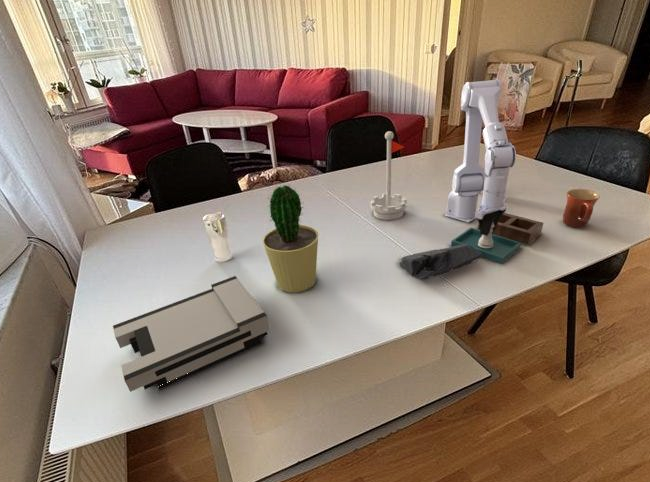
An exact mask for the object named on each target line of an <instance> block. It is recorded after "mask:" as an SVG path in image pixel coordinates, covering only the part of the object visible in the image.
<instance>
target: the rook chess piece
mask: <svg viewBox="0 0 650 482" xmlns="http://www.w3.org/2000/svg"><path fill="white" fill-rule="evenodd" d="M492 228H494V223H492V226H491V229H490V232H489V234H488V235H487V236H486V235H482V237H481V238H480V239H479V241H478V242H479V243H478V246H479V247H480V248H483V249H490V248H492V247H493V243H494V242H493V239H492V231H493V229H492Z"/></svg>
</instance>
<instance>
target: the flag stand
mask: <svg viewBox="0 0 650 482" xmlns="http://www.w3.org/2000/svg"><path fill="white" fill-rule="evenodd" d="M394 136H395V135H394V132H393V131H391V130H390V131H389V130H388V131H386V132H385V134H384V138H385V140H386V192H384V193H382V195H381V196H379V195H377V194H376V195H374V196H373V197H372V199H371V200H370V208H371V209H372V211H373V216H374V217H375V218H377V219H379V220H385V221H389V220H390V221H391V220H397V219H399V218H401V217H402V216H403V215H404V210H405V209H406V208H407V204H408V203H407V202H408V201H407V200H408V199H407V197H405V196H404V197H403V196H402V194H400V193H394V195H392V154H393V153H395V152H397V151H399V150H401V149H404V148H405V146H403V145H401V144H399V143H398V142H396V141H394V140H393V139H394Z"/></svg>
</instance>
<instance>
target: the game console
mask: <svg viewBox="0 0 650 482" xmlns="http://www.w3.org/2000/svg"><path fill="white" fill-rule="evenodd" d="M112 329H113V333H114V338H115V340H116V342H117V345H118V346H119V348H120V349H122V348H124V347H127V346H129V345H130V346H131V348H132V350H133V353H134V354H138V353H139V354H140V357H138V358H136V359H135V358H134V359H132V360H130V361H128V362H125V363H123V364H121V365H120V366H121V371H122V376H123V380H124V383H125V385H126V386H127V388H128V391H129V392H130V393H131V392H133V391H136V390H138V389H140V388H143V389H144V390H147V389H150V388H152V387H154V386H157V388H158V389H157V390H158V391H161V390H163V389H165V388H167V387H169V386H171V385H173V384H176V383H177V382H180V381H182V380H184V379H187V378H189V377H191V376H194V375H196V374H197V373H200V372H202V371H204V370H207V369H209V368H211V367H214V366H217V365H218V364H220V363H223V362H224V361H227V360H229V359H231V358H233V357H236V356H237V355H238V356H239V355H240V354H242V353H244V352H245V353H246V351H249V350H252V349H254V348H255V347H257V346H260V345H262V344H263V341H262V339H263V338H265V337H267V336H269V333H268V332H269V331H271V330H270V325H269V320H268V316H267V314H266V313H265V312H264V310H263V309H262V308H261V306H260V305H259V304H258V303H257V301H256V300H255V299H254V298H253V296H252V295H251V294H250V292H249V291H248V290H247V289H246V288H245V286H244V284H243V283H242V282H241V281H240V279H238V277H237V276H236V275H234V276H231V277H228V278H226V279H223V280H220V281H218V282H215V283H212V284H211V288H209V289H207V290H205V291H202V292H199V293H196V294H194V295H192V296H188V297H185V298H183V299H180V300H178V301H175V302H172V303H170V304H167V305H164V306H162V307H159V308H156V309H154V310H151V311H148V312H146V313H142V314H140V315H138V316H135V317H132V318H129V319H127V320H124V321H121V322H119V323H116V324H114V325H112ZM187 373H188V374H187ZM176 378H177V379H176ZM169 381H170V382H169ZM167 382H168V383H167ZM162 384H163V385H162ZM160 385H161V386H160ZM158 386H159V387H158Z"/></svg>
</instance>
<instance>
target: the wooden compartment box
mask: <svg viewBox="0 0 650 482" xmlns="http://www.w3.org/2000/svg"><path fill="white" fill-rule="evenodd" d="M543 227H544V222H542V221H538V220H534V219H532V218H531V219H530V218H527V217H523V216H519V215H515V214H512V213H507V212H504V213H503V215H502V216H501V218H500V219H499V221H498V224H497V226H496V228H495V230H494V231H492V234H494V235H497V236H501V237H504V238H507V239H511V240H514V241H517V242H521V244H523V245H527V246H529V245H530V244H531V243H532V242H534V240H536V239H537V238H538V237H539V236H540V235H542V230H543ZM477 229H478V230H480V226H479V224H478V225H477Z"/></svg>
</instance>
